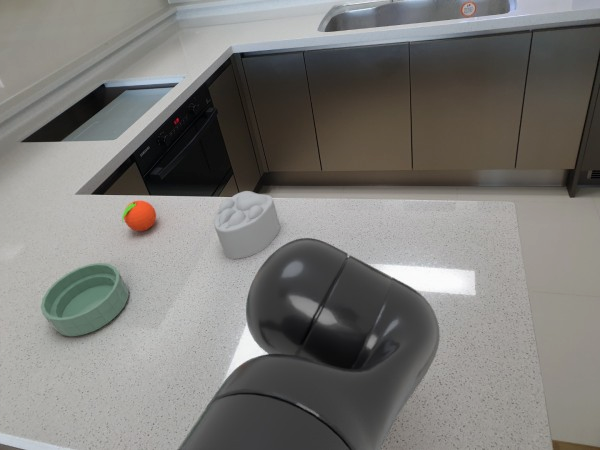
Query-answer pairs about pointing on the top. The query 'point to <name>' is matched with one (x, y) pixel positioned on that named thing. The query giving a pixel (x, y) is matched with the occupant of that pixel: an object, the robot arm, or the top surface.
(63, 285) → the bowl
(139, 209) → the clementine
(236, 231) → the lumpy-topped squat cylinder
